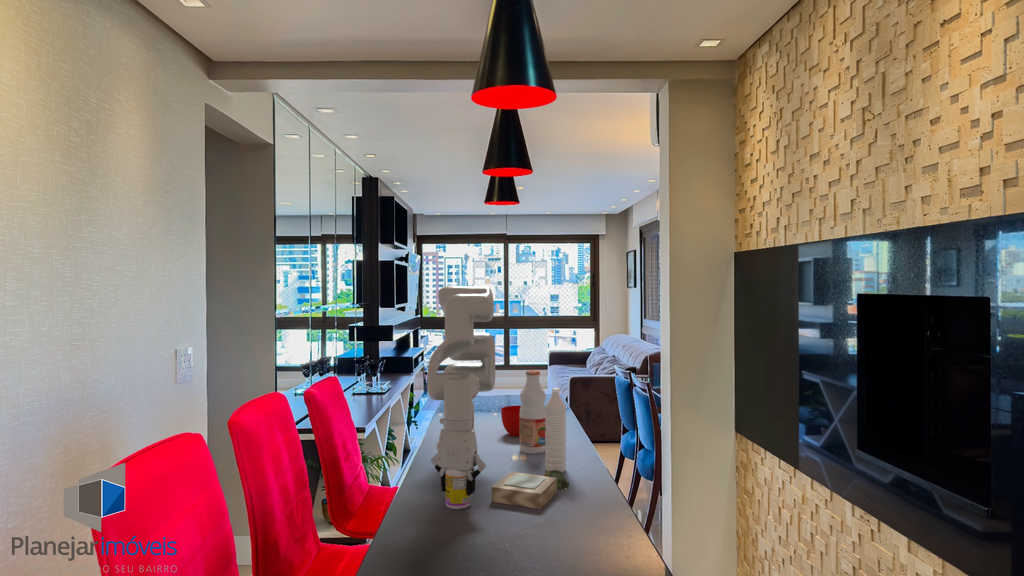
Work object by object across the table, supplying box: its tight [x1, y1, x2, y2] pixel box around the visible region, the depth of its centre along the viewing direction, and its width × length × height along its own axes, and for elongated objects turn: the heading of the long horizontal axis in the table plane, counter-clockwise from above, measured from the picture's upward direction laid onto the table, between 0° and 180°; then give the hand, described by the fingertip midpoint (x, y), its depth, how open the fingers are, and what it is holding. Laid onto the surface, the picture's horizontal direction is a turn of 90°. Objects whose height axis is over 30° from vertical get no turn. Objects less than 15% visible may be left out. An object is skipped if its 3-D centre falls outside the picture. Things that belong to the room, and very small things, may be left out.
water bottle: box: [544, 387, 567, 473], centre depth 192 cm, size 9×6×25 cm
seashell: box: [542, 470, 570, 491], centre depth 177 cm, size 10×4×10 cm
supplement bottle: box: [444, 469, 472, 510], centre depth 160 cm, size 7×7×13 cm
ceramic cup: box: [500, 405, 521, 438], centre depth 237 cm, size 13×17×10 cm
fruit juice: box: [519, 369, 547, 455], centre depth 213 cm, size 9×9×28 cm
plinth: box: [490, 471, 558, 510], centre depth 167 cm, size 14×14×4 cm
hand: (457, 491), depth 160 cm, fingers closed on supplement bottle, 6 cm apart
